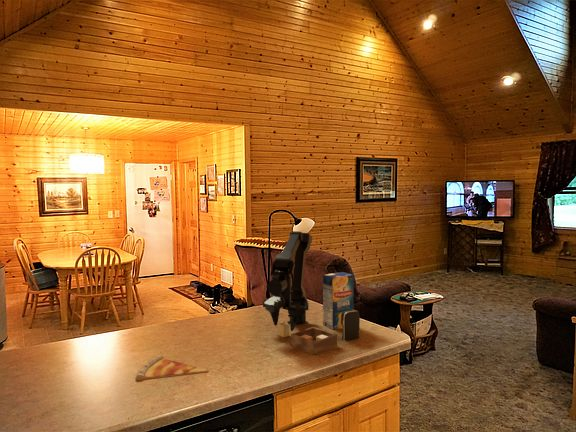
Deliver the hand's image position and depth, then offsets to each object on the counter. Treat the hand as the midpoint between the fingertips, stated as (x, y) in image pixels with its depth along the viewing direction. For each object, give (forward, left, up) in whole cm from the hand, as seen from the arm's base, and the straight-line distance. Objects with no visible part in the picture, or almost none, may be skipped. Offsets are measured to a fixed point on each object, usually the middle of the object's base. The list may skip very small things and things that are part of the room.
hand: (283, 328), depth 171 cm
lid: (0, 0, -4) cm, 4 cm away
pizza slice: (-3, -50, -4) cm, 50 cm away
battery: (+20, +16, -4) cm, 26 cm away
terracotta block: (+14, -2, -3) cm, 14 cm away
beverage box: (+7, +25, -4) cm, 26 cm away
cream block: (+18, +2, -3) cm, 19 cm away
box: (+16, 0, -4) cm, 16 cm away
